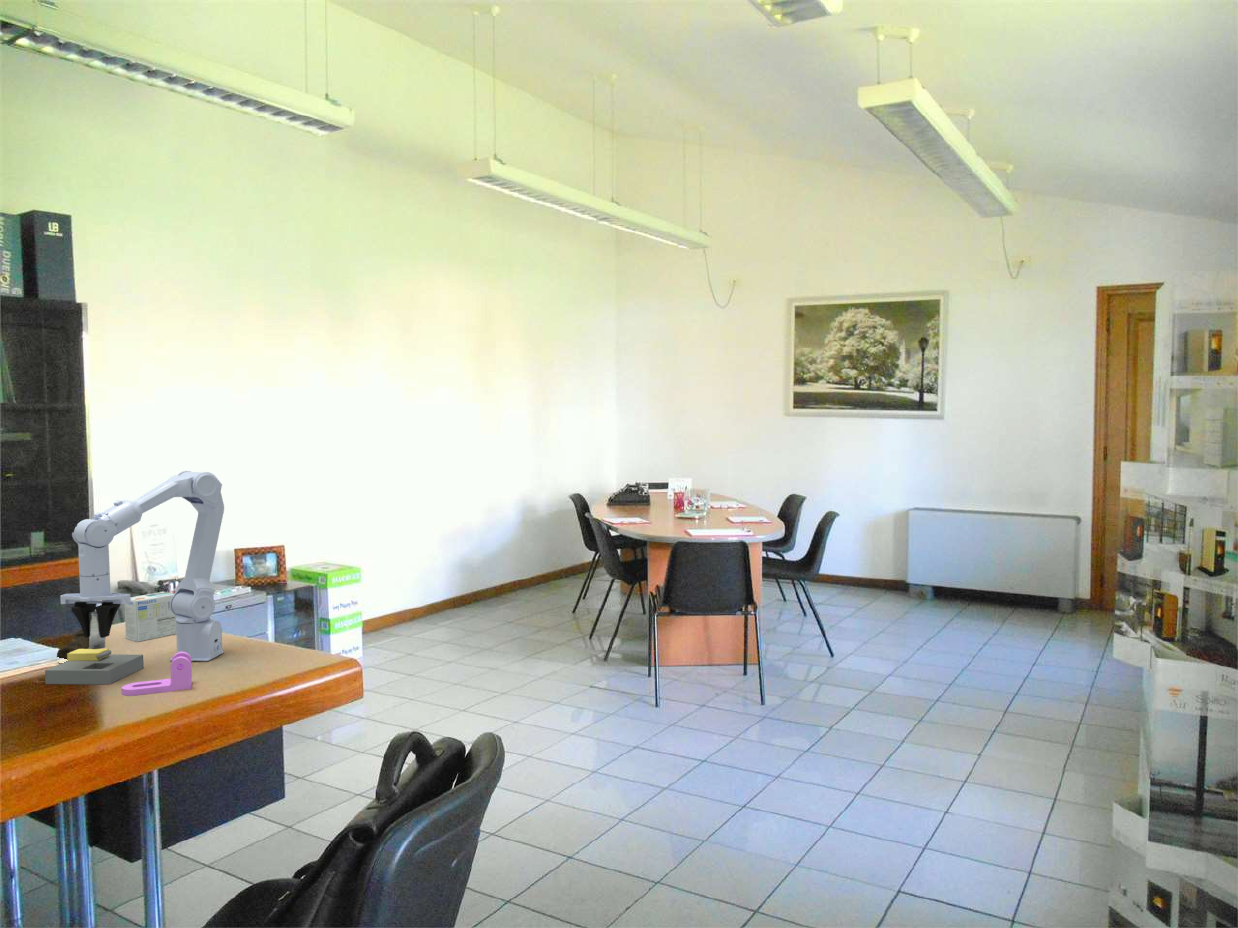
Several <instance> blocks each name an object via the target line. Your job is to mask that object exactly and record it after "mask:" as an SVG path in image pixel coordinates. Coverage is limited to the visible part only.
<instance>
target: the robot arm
mask: <svg viewBox="0 0 1238 928" xmlns="http://www.w3.org/2000/svg"><path fill="white" fill-rule="evenodd" d="M222 486H223V484H222V483H221V481H220V480H219V479H218V478H217V476H216V475H214V474H213V473H212V472H209V471H204V472H203V471H201V472H199V471H190V470H189V471H188V470H184V471H181V472H179V473H178V474H174V475H172V476H170V477H169V478H168V479H167V480H165V481H164V482H162V483H161V484H158V485H157V486H155V487H154V488H152V489H150V490H149V491H147V492H146V493H144V494H143V495H141V496H139V497H138V498H137V499H135V500H128V499H125V500H120V499H119V500H116V501H114V502H113V506H111V507H109V508H108V509H105V510H104V511H102V512H96V513H95V514H93V518H86V519H83V520H81V521H80V522H78V523H77V524H76V526H74V527H75V528H74V530H73V532H72V533H71V536H72V539H73V541H74V542H75V543H76V544H77V546H78V548H77V549H78V570H79V571H78V573H79V574H78V575H79V593H64V594H61V595H60V604H61V605H67V604H74V606H72V607H71V608H70V609H71V612H72V613H73V615H74V616H75V617H76V619H77V620H78V622H79V625H80V627H81V630H83V633H84V636H85V638H88V637H89V611H93V610H96V612H97V615H98V619H99V627H100V637H101V638H105V639H106V638H107V637H109V636H110V633H111V629H112V625H113V622H114V619H115V617H116V614H117V612H118V611H119V609H120V607H121V605H124V604H128V603H131V597H132V596H131V593H119V592H118V593H117V592H112V591H111V569H110V547H109V546H110V544H111V543H112V541H113V540H114V537H115V536H117V535H118V534H121V533H122V532H123V531H126V530H127V529H129V528H131V527H133V526H134V525H136V524H137V523H139V522H141V519H142V516H143V514H145V513H146V512H148V511H150V510H152V509H155V507H158V506H160V505H161V504H164V503H166V502H167V501H169V500H171V499H174V498H182V499H184V500H186V501H187V502H189V503H190V505H192V507H193V508H194V509H195V511H197V513H198V514H197V518H196V524H195V528H194V531H193V537H192V541H191V546H190V550H189V556H188V560H187V565H186V570H185V574H184V577H183V579H182V580H181V581H179V582H178V584H177V585H176V589H175V592H174V593H173V594H174V595H173V596H172V598H171V600H170V610H171V611H172V613H173V614H175V617H176V634H175V635H176V653H178V652H186V653H188V654H189V655H190V656H191V662H209V661H211V660H212V659H215V658H216V657H218V656H220V655H222V654H223V653H224V652H225V651H224V650H223V632H222V631H223V628H222V624H221V623H220V621H219V620H215V619H211V616H212V615H213V613H214V611H215V607H216V603H215V598H214V594H215V589H214V587H213V585H212V584H211V582H210V581H211V580H210V579H211V575H212V574H211V573H212V570H213V564H214V560H215V556H216V551H217V545H218V541H219V536H220V532H221V527H222V522H223V517H224V512H225V504H224V499H223V496H222ZM97 604H99V605H97ZM100 604H101V605H100ZM172 658H173V656H172V657H170V658H169V659H168V661H170V662H172Z"/></svg>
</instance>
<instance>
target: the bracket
mask: <svg viewBox="0 0 1238 928" xmlns="http://www.w3.org/2000/svg"><path fill="white" fill-rule="evenodd" d="M172 657H173V658H172ZM172 657H171V658H172V661H171V663H170V670H169V671H170V678H163V679H155V680H147V681H136V682H131V683H127V684H124V685H123V686H122V687H121V694H122V695H123V696H126V697H132V696H133V697H134V696H142V695H143V696H144V695H152V694H162V693H168V692H169V691H170V692H177V691H176V690H179V691H185V690H184V689H188V690H192V685H193V684H192V683H193V676H192V675H193V674H192V673H193V672H192V670H193V669H192V661H191V656H190V655H189V654H188V653H186V652H178V653H177V652H176V653H175V654H173V656H172ZM191 684H192V685H191Z"/></svg>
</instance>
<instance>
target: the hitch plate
mask: <svg viewBox="0 0 1238 928" xmlns="http://www.w3.org/2000/svg"><path fill="white" fill-rule="evenodd" d="M144 667H145V665H144V654H118V653H117V654H116V653H115V654H112V653H111V654H110V655H109V656H107V657H105V658H103V659H100V660H98V661H66V662H64V663H61V664H60V663H59V664H57V665H54V666H51V667H50V668H48V669H45V670H44V674H45V675H44V680H45V682H44V683H45V685H101V686H102V685H108V686H109V685H110V684H113V683H116V682H117V681H119V680H121V679H123V678H125V677H127V676H129V675H132V674H134V673H135V672H137V671H140V670H141V669H144Z"/></svg>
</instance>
